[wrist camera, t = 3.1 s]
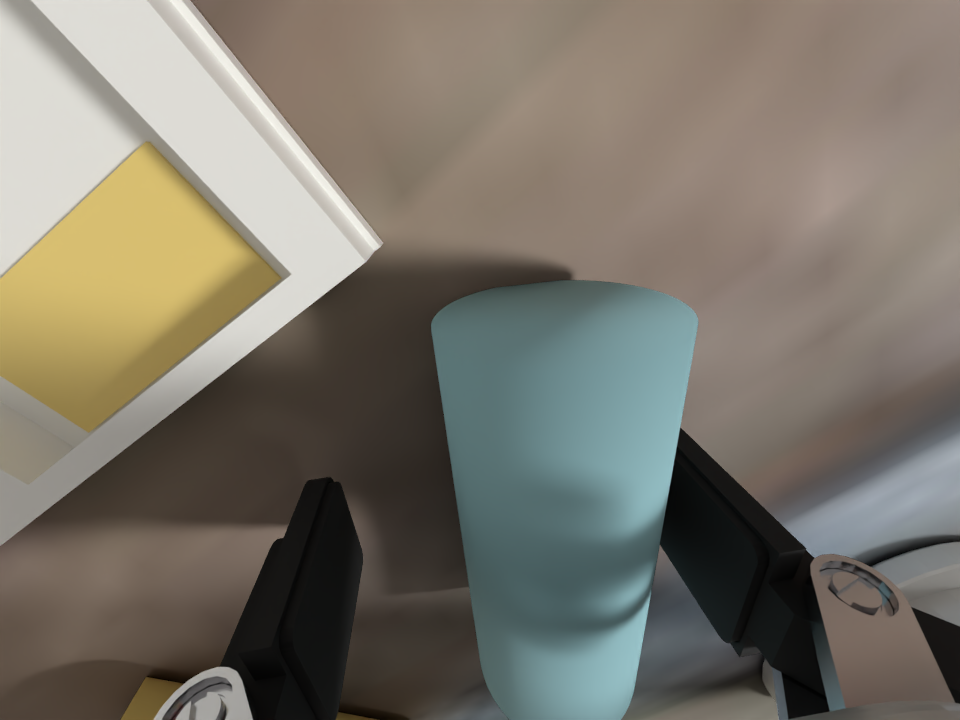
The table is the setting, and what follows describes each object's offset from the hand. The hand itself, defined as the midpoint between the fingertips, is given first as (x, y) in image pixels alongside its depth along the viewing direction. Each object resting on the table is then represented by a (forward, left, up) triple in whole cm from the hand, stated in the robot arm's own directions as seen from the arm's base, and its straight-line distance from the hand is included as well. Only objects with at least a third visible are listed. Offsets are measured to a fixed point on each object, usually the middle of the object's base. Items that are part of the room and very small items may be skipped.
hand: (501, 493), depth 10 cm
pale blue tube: (-1, -1, +1) cm, 2 cm away
